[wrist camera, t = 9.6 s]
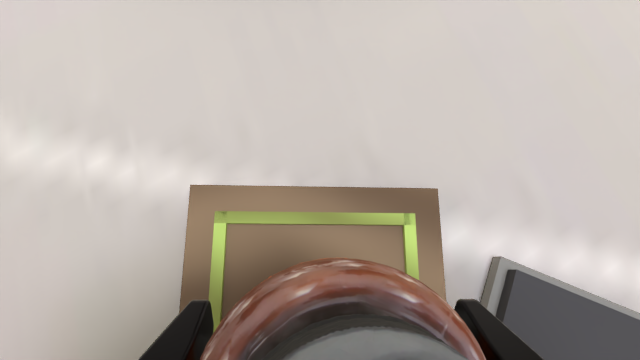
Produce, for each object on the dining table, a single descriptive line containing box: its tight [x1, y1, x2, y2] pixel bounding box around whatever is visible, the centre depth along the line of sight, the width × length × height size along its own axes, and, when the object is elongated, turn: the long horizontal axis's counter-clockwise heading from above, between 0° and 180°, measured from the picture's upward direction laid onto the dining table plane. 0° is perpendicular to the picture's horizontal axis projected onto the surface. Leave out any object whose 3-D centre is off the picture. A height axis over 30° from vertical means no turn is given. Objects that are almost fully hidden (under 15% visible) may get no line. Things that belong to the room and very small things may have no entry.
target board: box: [179, 185, 446, 333], centre depth 18 cm, size 13×13×1 cm
